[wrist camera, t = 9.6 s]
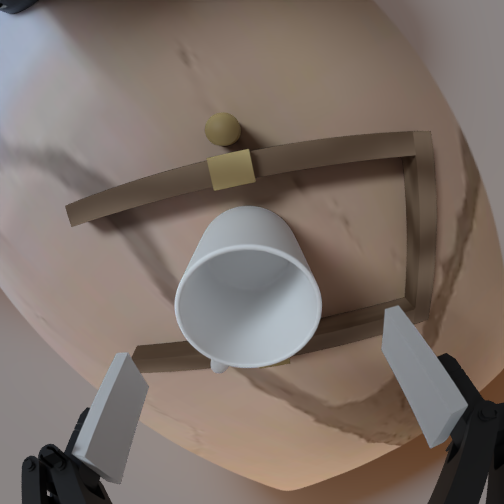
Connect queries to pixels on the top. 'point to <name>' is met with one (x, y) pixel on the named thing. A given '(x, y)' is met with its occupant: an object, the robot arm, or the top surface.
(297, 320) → the cup
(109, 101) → the top surface
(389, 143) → the track
